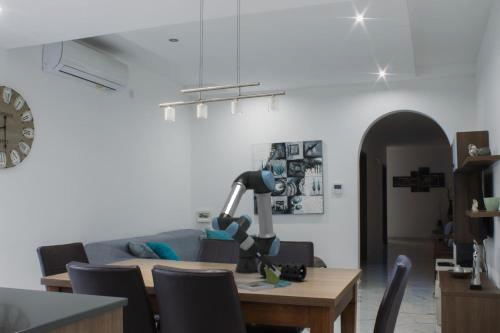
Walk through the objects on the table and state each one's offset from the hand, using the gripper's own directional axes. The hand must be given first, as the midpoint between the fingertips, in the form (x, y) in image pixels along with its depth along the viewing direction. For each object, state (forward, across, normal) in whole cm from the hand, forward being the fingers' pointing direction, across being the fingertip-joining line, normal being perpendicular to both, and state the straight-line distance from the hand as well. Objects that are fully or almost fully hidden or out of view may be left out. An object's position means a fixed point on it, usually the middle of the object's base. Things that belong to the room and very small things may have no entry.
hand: (277, 273), depth 274 cm
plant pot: (+3, 0, -6) cm, 7 cm away
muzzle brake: (+9, -16, -1) cm, 18 cm away
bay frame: (-1, +4, -10) cm, 10 cm away
